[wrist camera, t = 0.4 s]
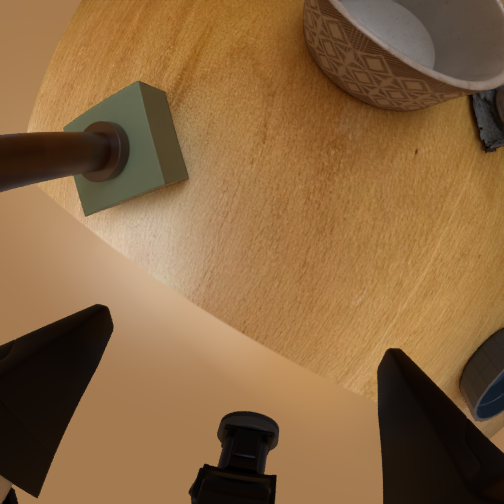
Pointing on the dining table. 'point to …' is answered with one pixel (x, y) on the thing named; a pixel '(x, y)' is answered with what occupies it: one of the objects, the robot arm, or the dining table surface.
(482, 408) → the bowl
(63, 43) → the dining table surface
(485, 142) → the beverage can
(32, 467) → the robot arm
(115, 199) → the stand
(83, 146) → the brown flanged post
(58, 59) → the dining table surface
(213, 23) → the dining table surface
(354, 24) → the planter
